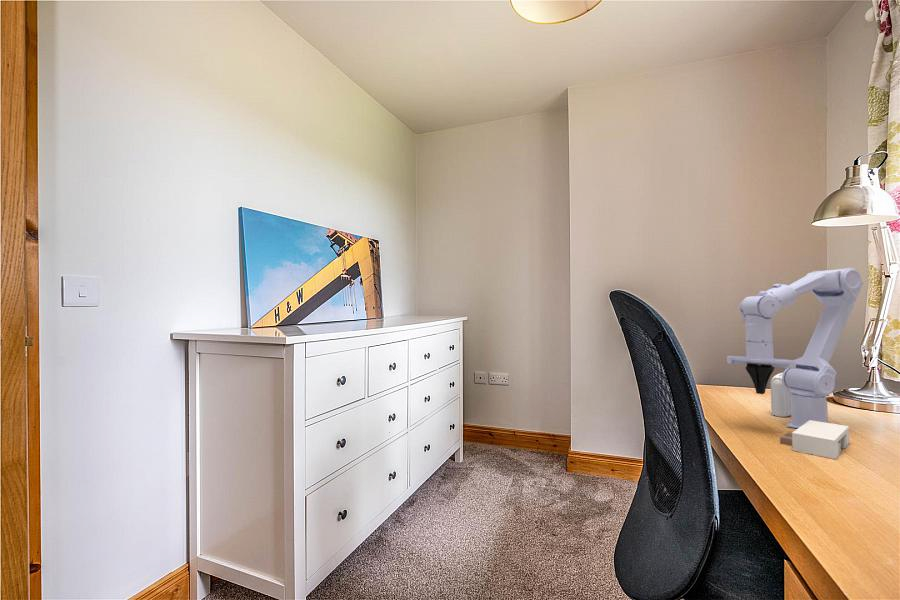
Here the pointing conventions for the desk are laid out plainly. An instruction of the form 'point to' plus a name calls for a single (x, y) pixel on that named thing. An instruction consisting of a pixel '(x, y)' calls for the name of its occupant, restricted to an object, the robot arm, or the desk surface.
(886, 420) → the desk surface
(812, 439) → the white shelf
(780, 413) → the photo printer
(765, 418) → the desk surface
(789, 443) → the walnut panel
